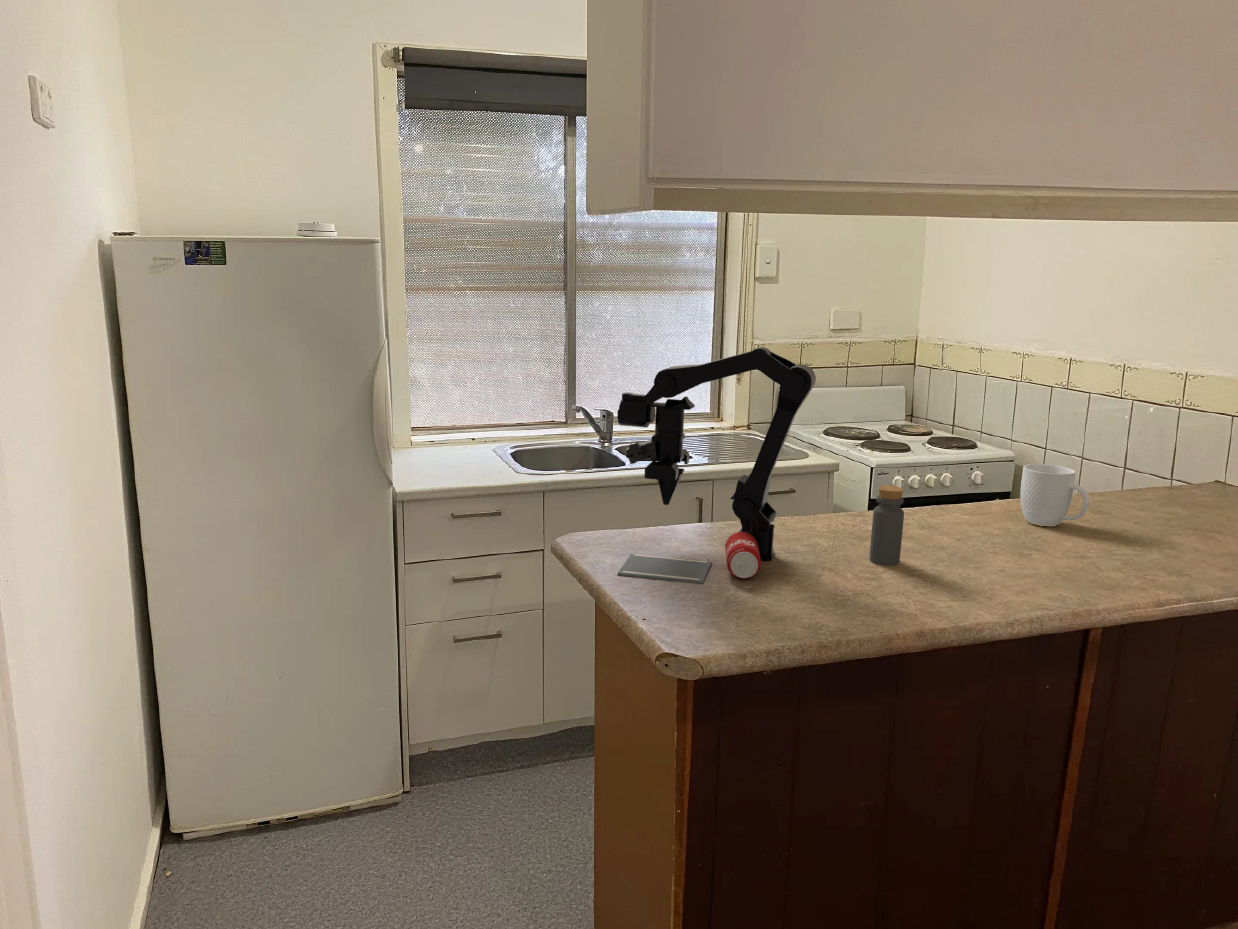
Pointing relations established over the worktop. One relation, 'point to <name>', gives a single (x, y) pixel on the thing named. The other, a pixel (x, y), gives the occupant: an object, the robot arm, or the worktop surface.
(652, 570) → the mat
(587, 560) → the worktop surface
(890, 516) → the bottle
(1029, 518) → the mug
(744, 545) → the beverage can
